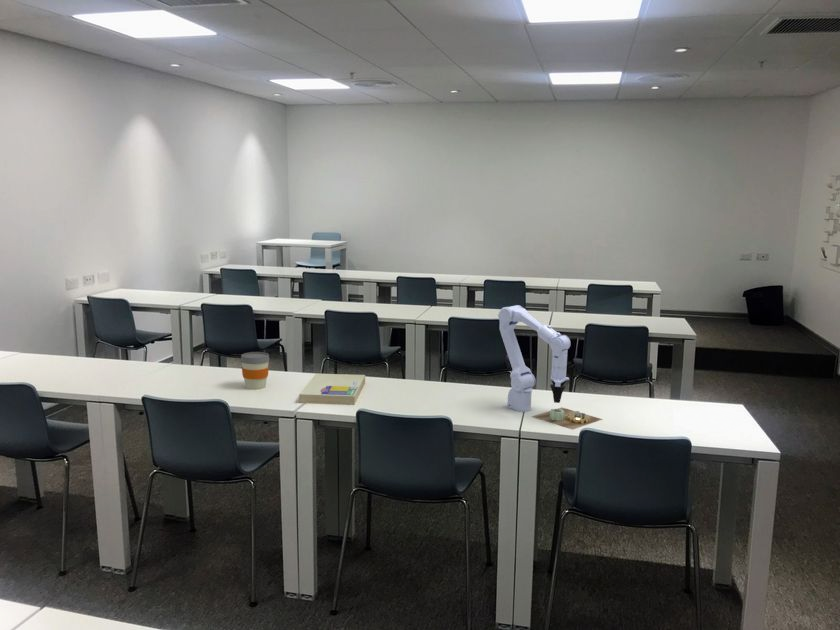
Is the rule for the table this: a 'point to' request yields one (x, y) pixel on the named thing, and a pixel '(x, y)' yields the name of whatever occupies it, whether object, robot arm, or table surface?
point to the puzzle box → (333, 389)
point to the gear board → (563, 422)
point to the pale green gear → (557, 414)
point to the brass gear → (577, 418)
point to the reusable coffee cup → (255, 369)
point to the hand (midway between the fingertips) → (557, 399)
